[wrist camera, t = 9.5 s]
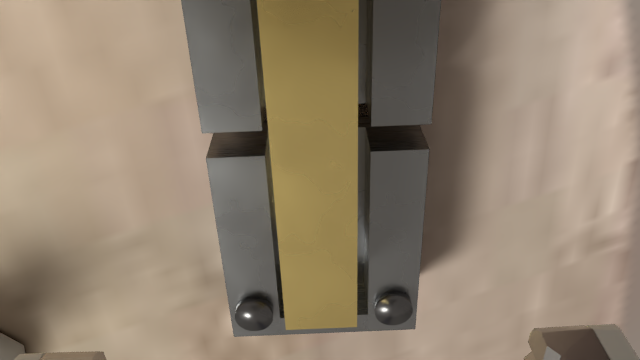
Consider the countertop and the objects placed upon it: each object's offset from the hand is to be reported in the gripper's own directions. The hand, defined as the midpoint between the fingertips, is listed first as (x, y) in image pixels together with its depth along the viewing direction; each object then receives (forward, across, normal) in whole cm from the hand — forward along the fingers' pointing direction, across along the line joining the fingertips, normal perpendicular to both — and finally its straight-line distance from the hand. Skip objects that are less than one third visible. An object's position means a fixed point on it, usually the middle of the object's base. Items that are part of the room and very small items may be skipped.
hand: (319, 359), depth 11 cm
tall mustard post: (+12, 0, +1) cm, 12 cm away
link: (+13, 0, +6) cm, 14 cm away
